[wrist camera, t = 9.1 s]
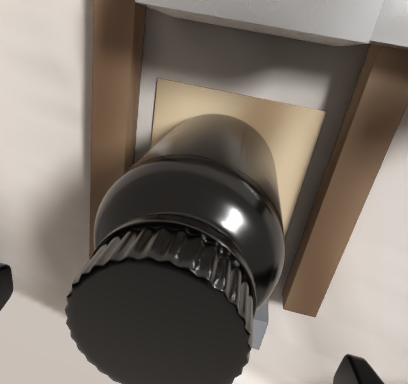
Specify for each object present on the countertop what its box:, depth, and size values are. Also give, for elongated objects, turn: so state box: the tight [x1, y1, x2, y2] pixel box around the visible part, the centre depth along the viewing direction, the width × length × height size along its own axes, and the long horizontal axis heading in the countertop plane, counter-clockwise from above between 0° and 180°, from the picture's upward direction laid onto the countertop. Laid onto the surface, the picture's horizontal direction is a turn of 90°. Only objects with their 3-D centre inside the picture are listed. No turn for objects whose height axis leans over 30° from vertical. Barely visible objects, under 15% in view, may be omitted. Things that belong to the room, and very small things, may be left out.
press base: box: [89, 0, 408, 350], centre depth 15 cm, size 22×20×5 cm
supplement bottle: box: [65, 114, 285, 384], centre depth 13 cm, size 7×7×12 cm
